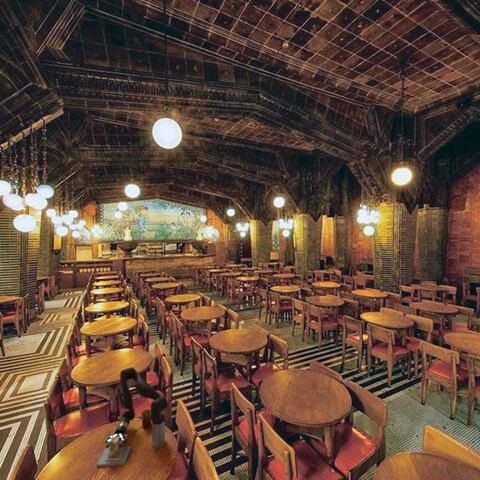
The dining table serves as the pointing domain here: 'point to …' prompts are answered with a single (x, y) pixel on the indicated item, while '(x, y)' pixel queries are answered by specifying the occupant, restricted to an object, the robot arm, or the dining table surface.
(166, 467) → the dining table surface
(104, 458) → the board
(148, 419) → the mug
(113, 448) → the pillar
